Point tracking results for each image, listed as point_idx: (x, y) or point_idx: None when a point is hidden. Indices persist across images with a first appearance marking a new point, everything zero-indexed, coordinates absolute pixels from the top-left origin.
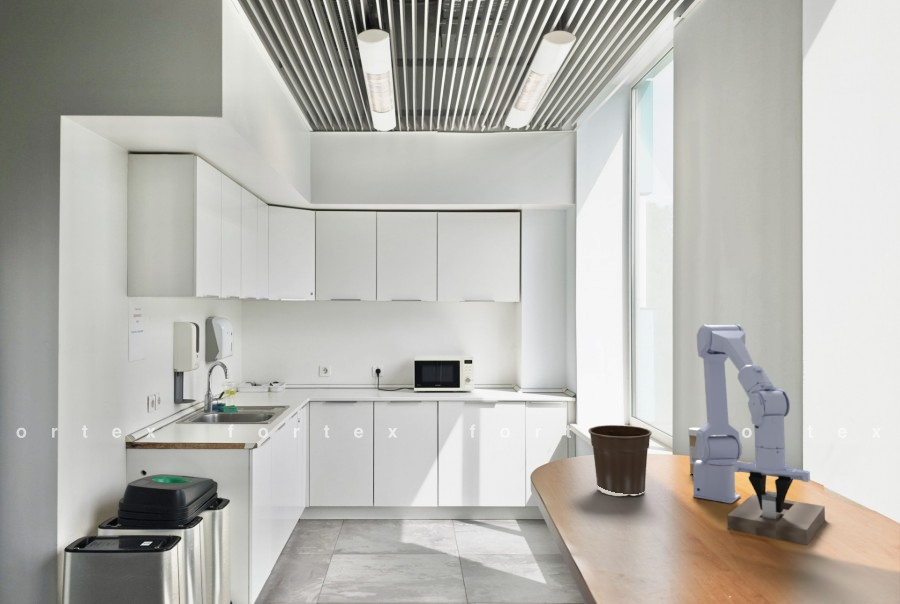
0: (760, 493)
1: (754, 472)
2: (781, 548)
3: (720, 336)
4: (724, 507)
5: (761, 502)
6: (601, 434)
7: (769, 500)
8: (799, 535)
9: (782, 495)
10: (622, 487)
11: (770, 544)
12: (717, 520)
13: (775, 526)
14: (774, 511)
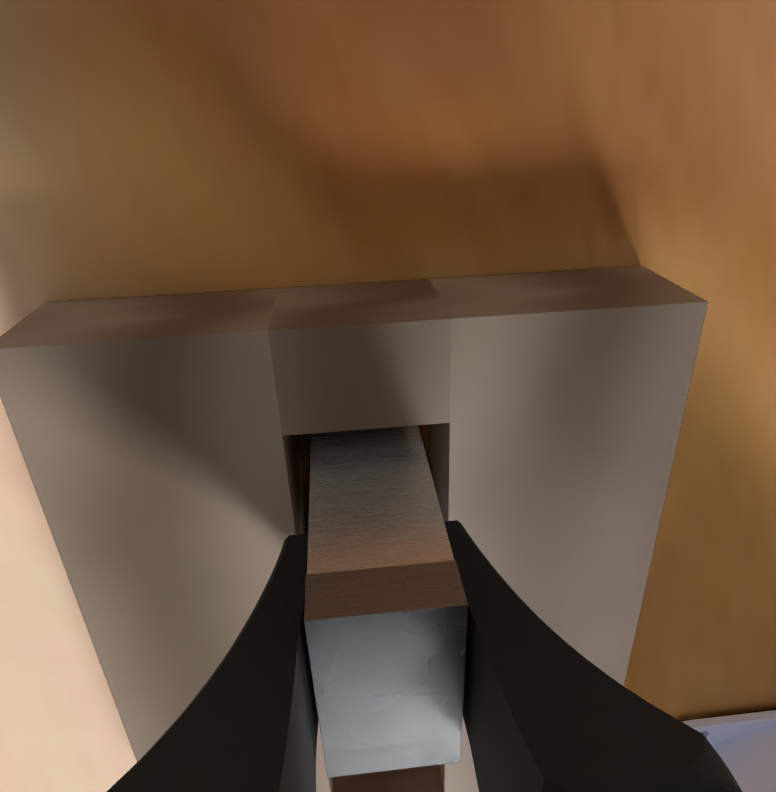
0: (490, 628)
1: None
2: (150, 65)
3: None
4: (706, 655)
5: (461, 558)
6: None
7: (373, 571)
8: (74, 321)
9: (224, 671)
10: None
11: (262, 113)
12: (728, 412)
13: (271, 325)
14: (321, 499)
